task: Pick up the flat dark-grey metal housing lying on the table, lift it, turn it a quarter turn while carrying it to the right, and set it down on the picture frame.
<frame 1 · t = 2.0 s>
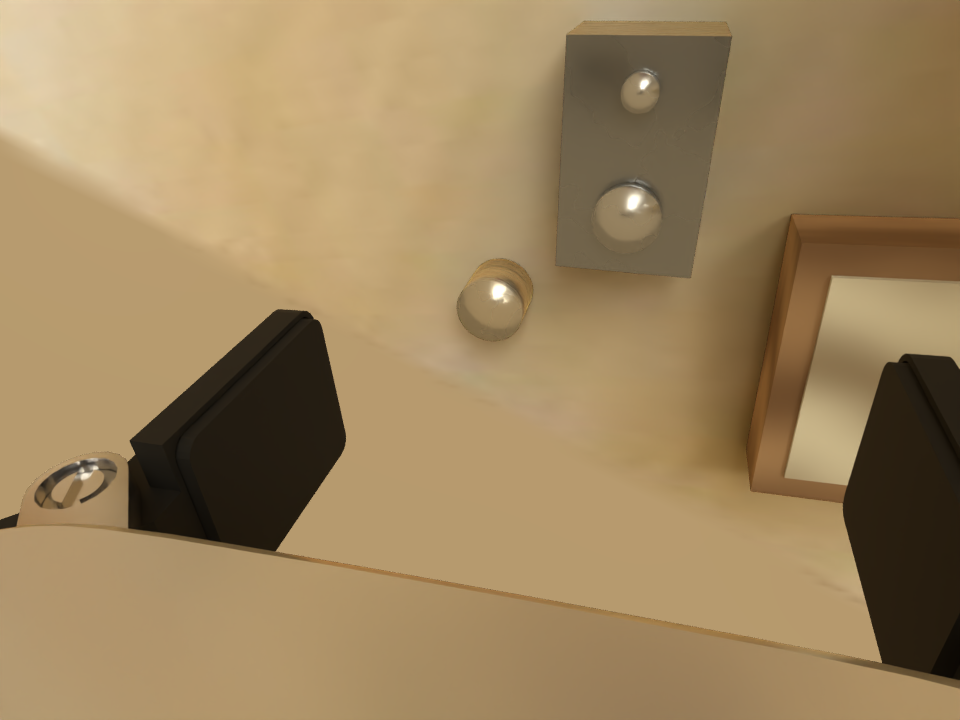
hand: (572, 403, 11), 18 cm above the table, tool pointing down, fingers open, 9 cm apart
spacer: (502, 287, 31), on the table
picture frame: (893, 354, 28), on the table
housing: (641, 133, 26), on the table
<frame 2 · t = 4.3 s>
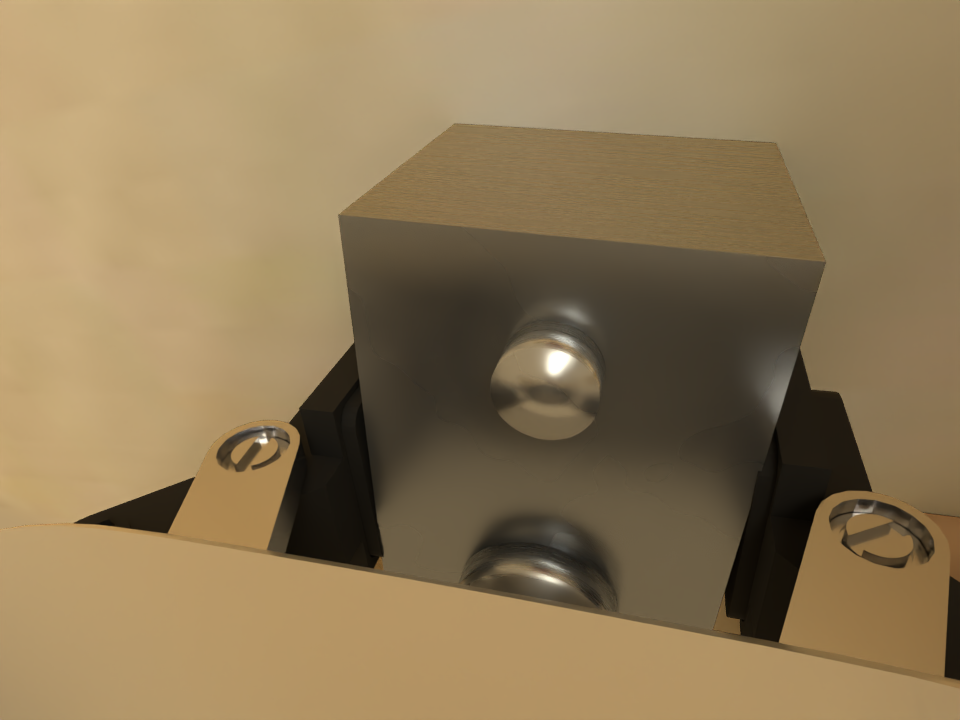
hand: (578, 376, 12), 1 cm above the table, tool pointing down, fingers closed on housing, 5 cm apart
housing: (585, 348, 12), on the table, touching gripper
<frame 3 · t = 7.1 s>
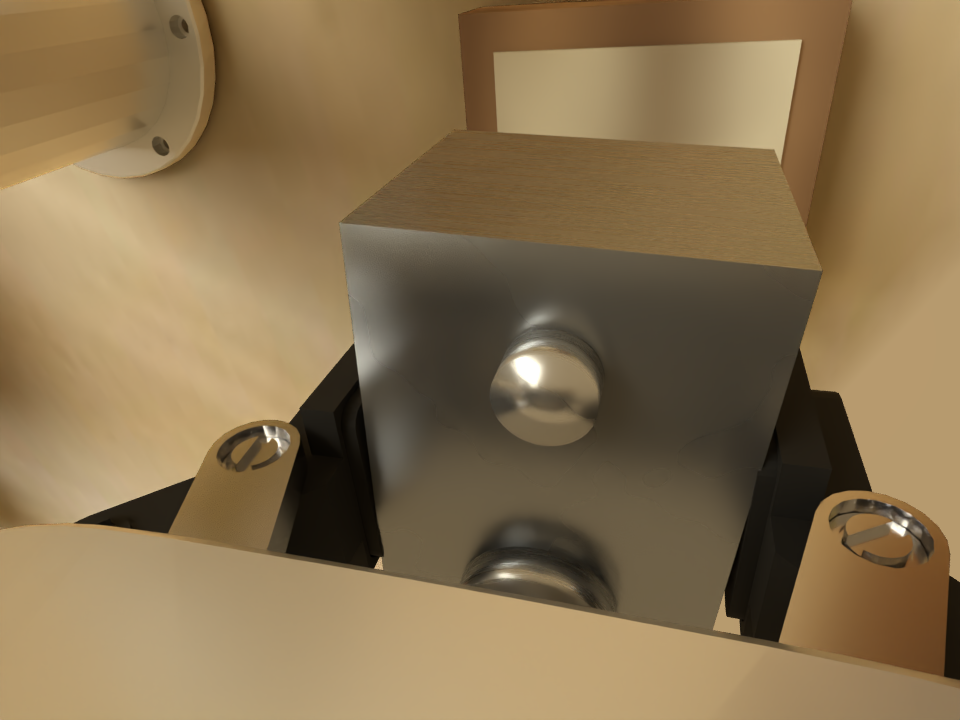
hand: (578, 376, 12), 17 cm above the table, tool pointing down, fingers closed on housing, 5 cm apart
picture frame: (637, 143, 25), on the table
housing: (584, 352, 12), point 16 cm above the table, touching gripper
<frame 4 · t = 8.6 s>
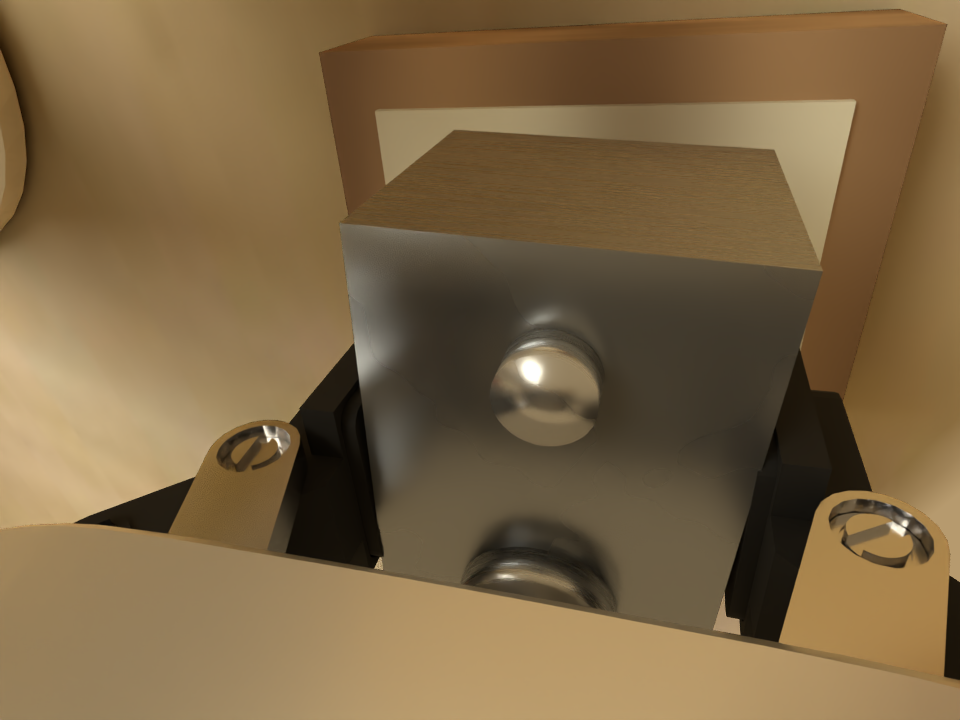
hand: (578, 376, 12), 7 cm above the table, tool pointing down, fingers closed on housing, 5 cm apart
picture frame: (603, 228, 18), on the table
housing: (584, 353, 12), point 7 cm above the table, touching gripper
when the fingers open (5 cm above the table, at t = 9.9 s): housing stays where it is, resting on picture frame.
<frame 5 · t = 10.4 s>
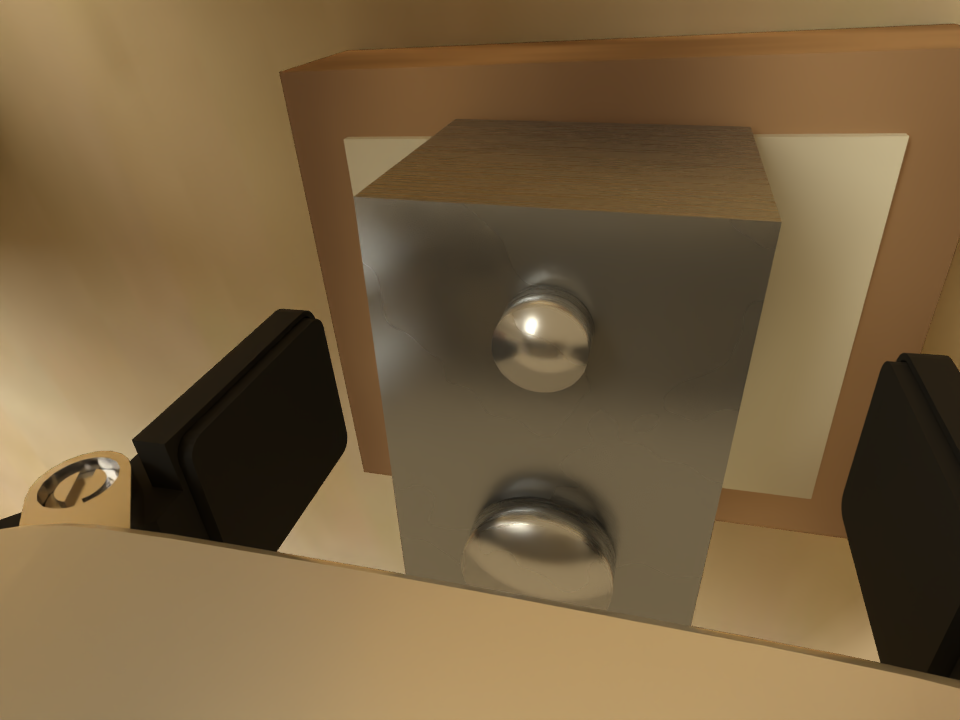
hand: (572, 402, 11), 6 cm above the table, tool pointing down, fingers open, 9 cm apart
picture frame: (606, 265, 16), on the table
housing: (583, 326, 13), point 3 cm above the table, touching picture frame
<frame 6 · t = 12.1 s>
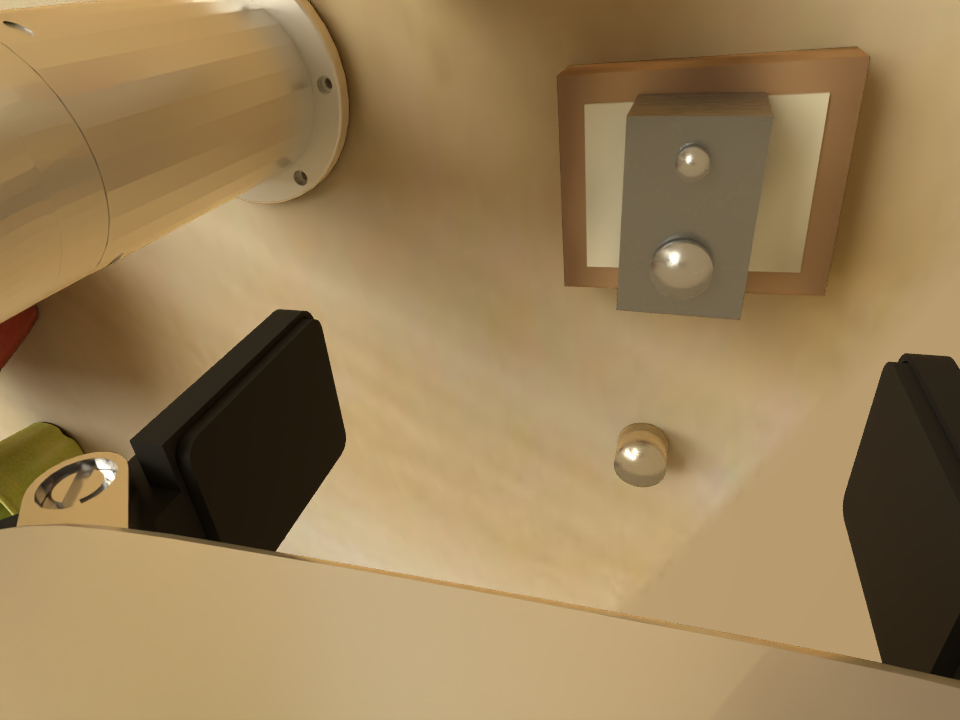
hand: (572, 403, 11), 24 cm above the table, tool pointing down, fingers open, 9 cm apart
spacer: (643, 441, 41), on the table
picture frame: (696, 169, 31), on the table
plant pot 2: (61, 445, 61), on the table
housing: (690, 188, 29), point 3 cm above the table, touching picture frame
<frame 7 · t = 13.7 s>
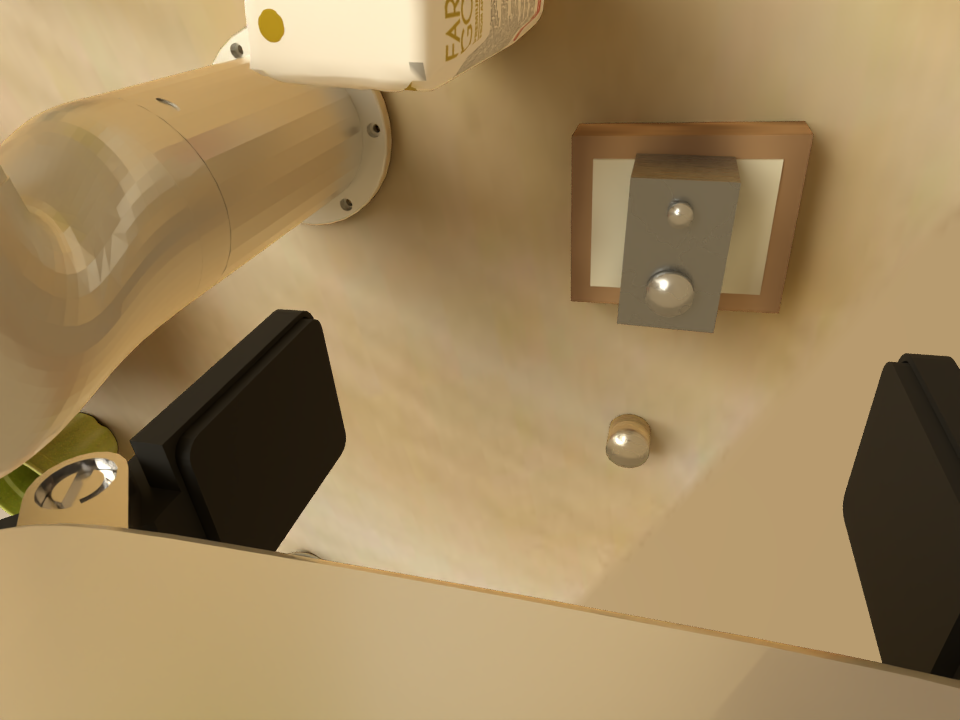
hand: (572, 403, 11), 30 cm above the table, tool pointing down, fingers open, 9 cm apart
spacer: (629, 430, 48), on the table
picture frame: (679, 209, 39), on the table
plant pot 2: (94, 434, 66), on the table
housing: (675, 227, 36), point 3 cm above the table, touching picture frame
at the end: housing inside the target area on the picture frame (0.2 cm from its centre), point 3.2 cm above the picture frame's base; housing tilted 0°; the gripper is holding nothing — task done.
